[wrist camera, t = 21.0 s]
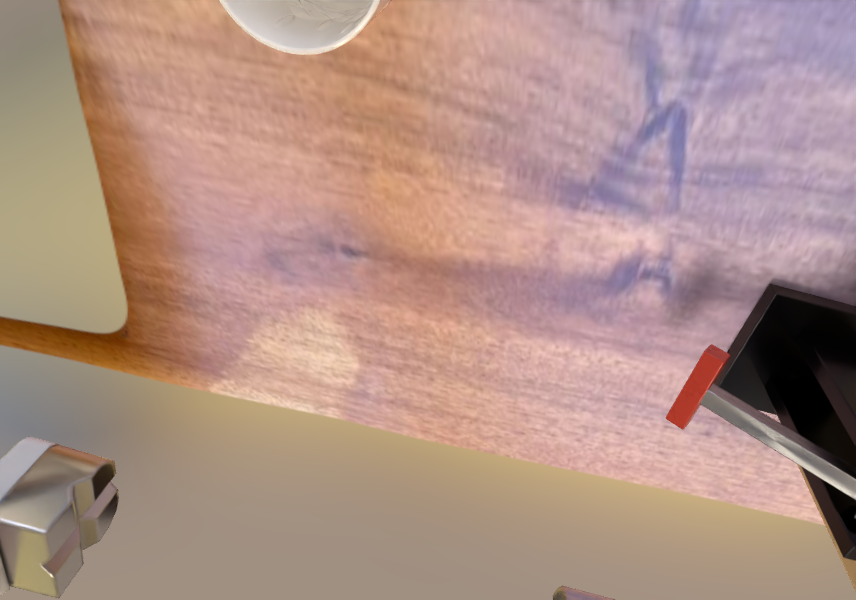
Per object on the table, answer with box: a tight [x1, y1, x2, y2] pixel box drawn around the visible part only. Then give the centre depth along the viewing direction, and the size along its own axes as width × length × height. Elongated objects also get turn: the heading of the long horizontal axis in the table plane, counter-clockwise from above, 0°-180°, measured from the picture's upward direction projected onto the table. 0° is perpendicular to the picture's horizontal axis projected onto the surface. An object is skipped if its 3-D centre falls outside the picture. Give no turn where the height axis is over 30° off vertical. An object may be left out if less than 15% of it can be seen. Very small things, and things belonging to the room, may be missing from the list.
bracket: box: [714, 284, 856, 561], centre depth 36 cm, size 10×9×15 cm
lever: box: [666, 345, 856, 519], centre depth 34 cm, size 13×5×2 cm
